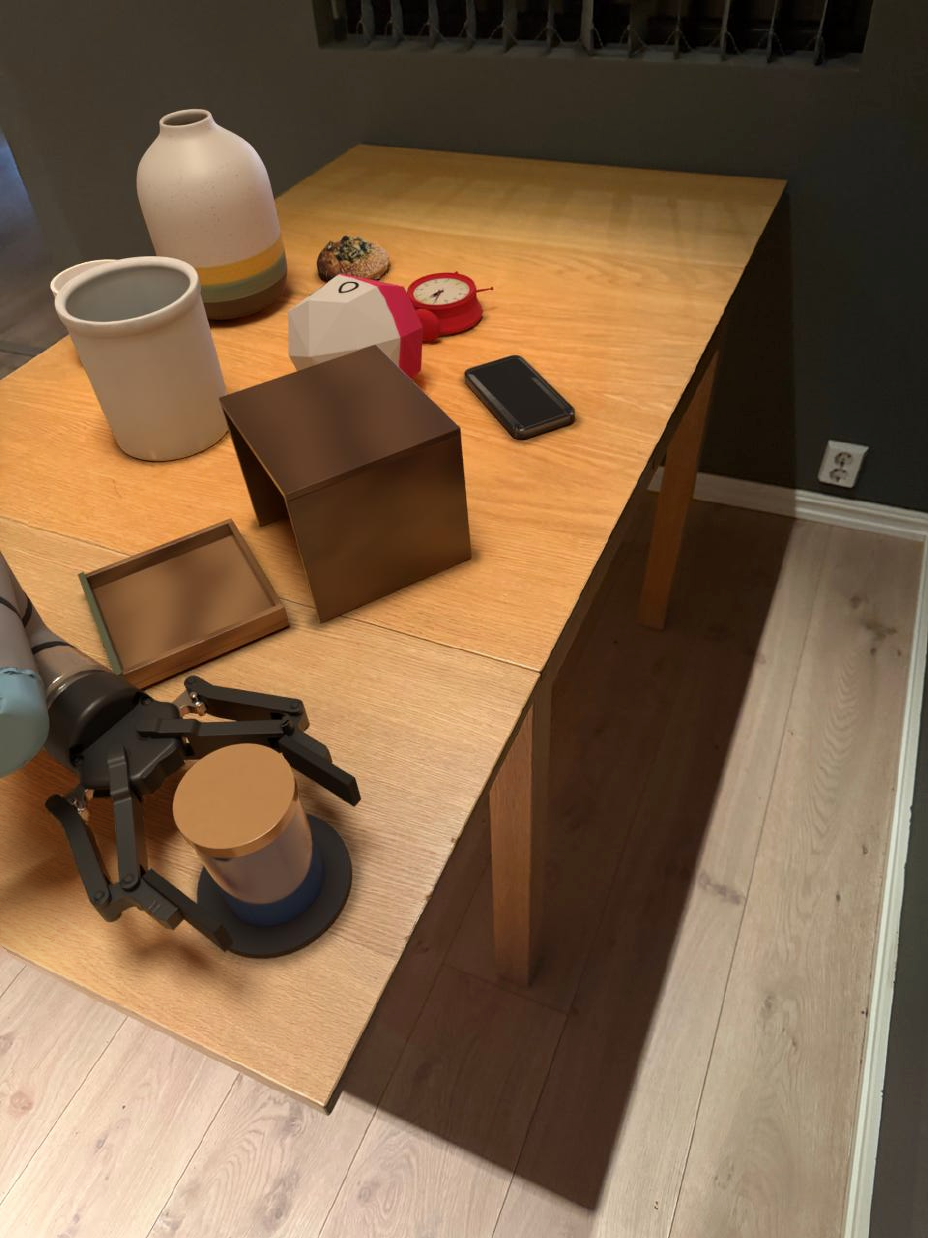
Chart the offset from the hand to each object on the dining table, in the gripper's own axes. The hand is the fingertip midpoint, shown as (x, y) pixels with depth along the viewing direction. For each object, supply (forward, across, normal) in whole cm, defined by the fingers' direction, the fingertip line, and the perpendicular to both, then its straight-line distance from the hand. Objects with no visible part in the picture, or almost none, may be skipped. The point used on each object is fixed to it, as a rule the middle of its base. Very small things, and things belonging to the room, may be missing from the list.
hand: (293, 861), depth 57 cm
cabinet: (-23, -32, -7) cm, 40 cm away
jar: (-4, 0, -6) cm, 8 cm away
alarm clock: (-43, -70, -7) cm, 83 cm away
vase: (-72, -62, -7) cm, 95 cm away
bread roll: (-63, -78, -7) cm, 100 cm away
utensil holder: (-55, -36, -7) cm, 66 cm away
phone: (-23, -60, -7) cm, 65 cm away
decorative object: (-40, -52, -7) cm, 66 cm away
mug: (-75, -44, -7) cm, 87 cm away
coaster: (-4, 0, -7) cm, 8 cm away
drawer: (-30, -16, -7) cm, 35 cm away
